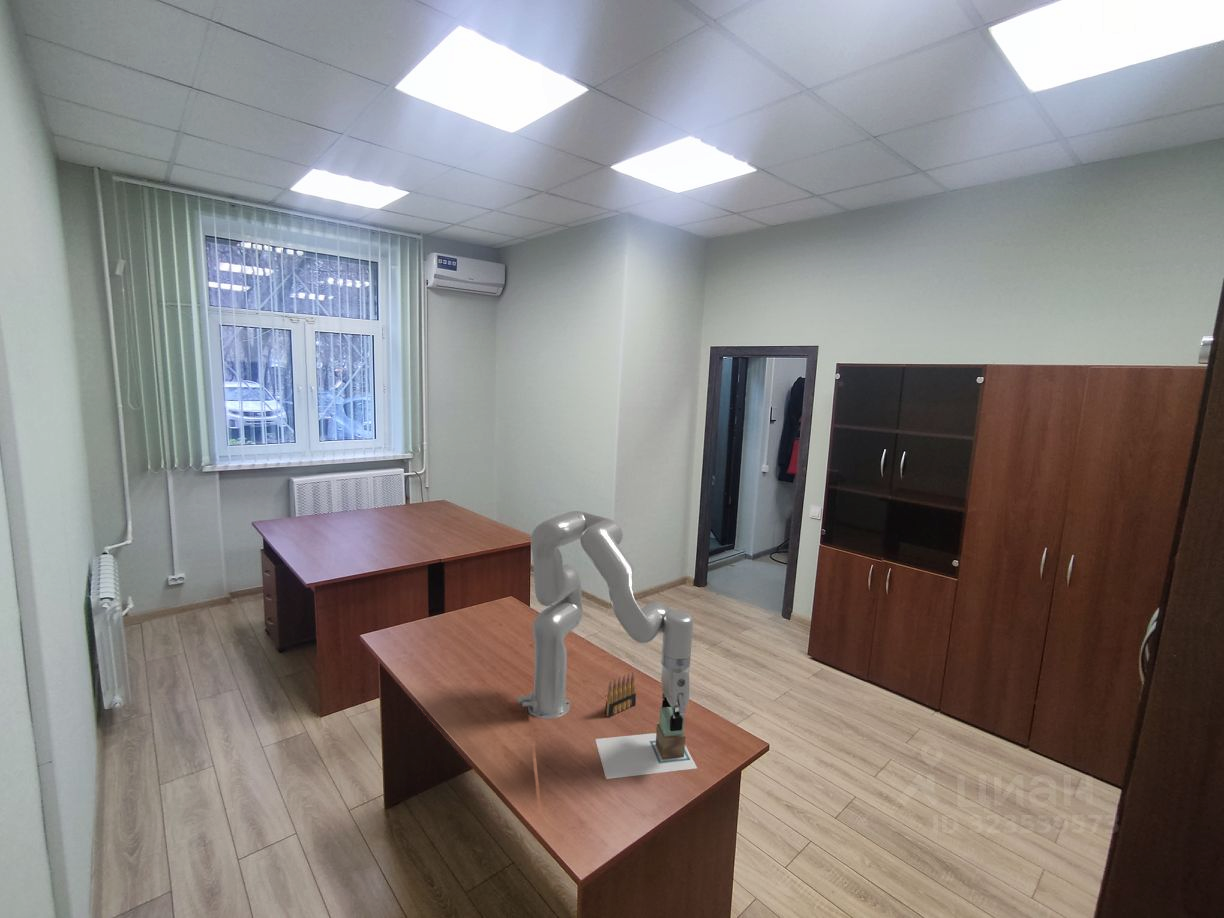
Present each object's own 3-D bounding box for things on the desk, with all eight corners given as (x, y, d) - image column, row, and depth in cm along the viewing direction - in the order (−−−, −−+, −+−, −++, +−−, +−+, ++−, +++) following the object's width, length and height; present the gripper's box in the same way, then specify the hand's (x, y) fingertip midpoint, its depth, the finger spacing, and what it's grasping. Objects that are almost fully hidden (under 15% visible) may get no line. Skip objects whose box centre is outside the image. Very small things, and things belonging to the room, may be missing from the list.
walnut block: (662, 759, 139) (663, 738, 138) (655, 744, 144) (656, 724, 144) (683, 756, 140) (685, 736, 139) (676, 741, 146) (677, 721, 145)
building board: (606, 782, 131) (606, 778, 131) (595, 742, 146) (595, 738, 145) (697, 771, 136) (697, 767, 136) (677, 734, 151) (677, 730, 151)
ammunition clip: (608, 720, 155) (610, 682, 154) (604, 717, 157) (606, 680, 155) (635, 708, 162) (637, 671, 160) (631, 705, 163) (633, 669, 162)
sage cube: (664, 736, 139) (665, 719, 138) (659, 724, 143) (660, 707, 143) (682, 735, 140) (684, 717, 139) (676, 723, 144) (677, 706, 144)
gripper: (701, 675, 131) (696, 741, 134) (678, 642, 148) (674, 701, 150) (673, 677, 129) (668, 744, 132) (652, 643, 146) (648, 703, 149)
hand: (671, 721), depth 141 cm, fingers open, 6 cm apart
